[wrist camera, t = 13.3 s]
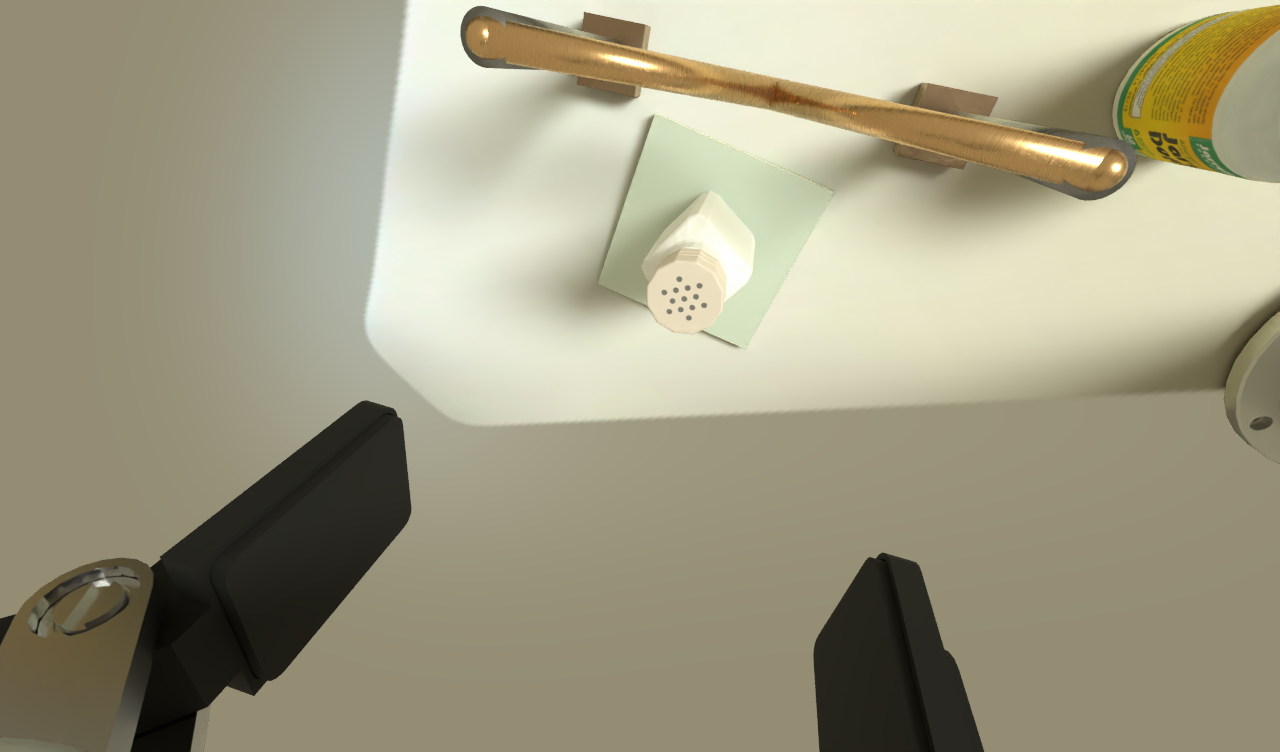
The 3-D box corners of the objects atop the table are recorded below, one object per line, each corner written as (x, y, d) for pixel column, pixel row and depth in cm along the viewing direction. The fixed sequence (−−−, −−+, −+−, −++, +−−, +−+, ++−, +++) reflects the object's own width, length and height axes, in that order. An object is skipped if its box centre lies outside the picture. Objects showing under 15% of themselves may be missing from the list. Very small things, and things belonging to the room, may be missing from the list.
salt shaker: (705, 285, 30) (682, 360, 22) (658, 234, 29) (616, 294, 21) (760, 239, 28) (755, 303, 20) (711, 183, 27) (686, 227, 19)
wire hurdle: (988, 96, 23) (1231, 116, 11) (954, 165, 25) (1134, 250, 13) (591, 14, 25) (419, -47, 13) (584, 84, 27) (425, 89, 14)
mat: (832, 190, 26) (833, 192, 26) (746, 344, 32) (745, 349, 31) (657, 113, 26) (654, 113, 26) (600, 280, 32) (597, 283, 31)
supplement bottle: (1307, 31, 20) (1670, -1, 12) (1199, 171, 23) (1433, 222, 15) (1166, -1, 20) (1425, -54, 12) (1077, 141, 23) (1241, 174, 15)
